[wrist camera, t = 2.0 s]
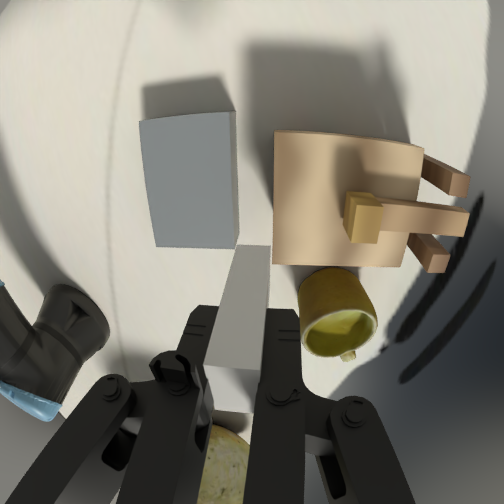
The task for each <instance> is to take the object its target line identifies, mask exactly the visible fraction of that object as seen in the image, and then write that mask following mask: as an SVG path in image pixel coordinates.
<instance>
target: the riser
mask: <svg viewBox="0 0 504 504" xmlns="http://www.w3.org/2000/svg"><path fill="white" fill-rule="evenodd" d="M139 130H140V141H141V151H142V160H143V168H144V176H145V183H146V190H147V197H148V203H149V210H150V216H151V221H152V227H153V232H154V238H155V243H156V247H176V248H210V249H235V247H236V243H237V239H238V236H239V205H238V176H237V142H236V111H227V112H210V113H197V114H186V115H177V116H168V117H161V118H154V119H148V120H143V121H139Z"/></svg>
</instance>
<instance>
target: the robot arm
mask: <svg viewBox="0 0 504 504" xmlns="http://www.w3.org/2000/svg"><path fill="white" fill-rule="evenodd" d="M270 249H271V246H259V245H237V247H236V250H235V254H234V257H233V261H232V264H231V267H230V271H229V274H228V278H227V281H226V285H225V288H224V292H223V295H222V299H221V302H220V306H208V305H198V306H197V307H196V308H195V309H194V310H193V311H192V312H191V313H190V316H189V318H188V321H187V324H186V326H185V329H184V331H183V335H182V337H181V339H180V342H179V345H178V347H177V350H175V351H166V352H163V353H160V354H159V355H157V356H156V357H154V358H153V359H152V361H151V362H150V364H149V367H150V369H151V371H152V373H153V375H154V377H155V380H152V381H146V382H133V383H129V382H128V380H127V379H126V378H124V377H123V376H121V375H118V374H108V375H106V376H103V377H101V378H100V379H99V380H98V381H97V382H96V383H95V384H94V385H93V386H92V388H91V389H90V390H89V391H88V393H87V394H86V395H85V396H84V398H83V399H82V400H81V401H80V403H79V404H78V405H77V406H76V408H75V409H74V410H73V411H72V413H71V414H70V415H69V416H68V418H67V419H66V420H65V422H64V423H63V424H62V426H61V427H60V428H59V429H58V431H57V432H56V433H55V435H54V436H53V437H52V438H51V440H50V441H49V442H48V444H47V445H46V446H45V448H44V449H43V450H42V452H41V453H40V455H39V456H38V457H37V459H36V460H35V462H34V463H33V464H32V466H31V467H30V468H29V470H28V471H27V472H26V474H25V476H24V477H23V478H22V479H21V481H20V482H19V484H18V485H17V487H16V488H15V490H14V491H13V492H12V494H11V495H10V497H9V498H8V500H7V501H6V503H5V504H110V502H111V501H112V499H113V498H114V496H115V495H116V493H117V492H118V490H119V489H120V491H119V495H118V498H117V502H116V504H197V500H198V495H199V490H200V484H201V479H202V474H203V469H204V464H205V459H206V454H207V449H208V444H209V439H210V434H211V429H212V417H211V413H212V409H213V404H214V408H215V410H222V411H231V412H242V413H254V416H253V424H252V433H251V441H250V449H249V457H248V465H247V473H246V481H245V488H244V496H243V503H242V504H304V480H305V478H304V477H305V476H304V475H305V452H307V453H310V454H314V455H315V457H316V461H317V464H318V467H319V471H320V474H321V478H322V481H323V485H324V488H325V491H326V495H327V498H328V502H329V504H415V501H414V498H413V496H412V493H411V491H410V488H409V485H408V483H407V481H406V478H405V475H404V473H403V471H402V468H401V466H400V463H399V461H398V458H397V456H396V454H395V451H394V449H393V447H392V444H391V442H390V440H389V437H388V435H387V433H386V431H385V429H384V426H383V424H382V422H381V419H380V417H379V416H378V413H377V411H376V409H375V408H374V406H373V405H372V403H371V402H370V401H368V400H366V399H365V398H363V397H358V396H348V397H345V398H343V399H340V400H339V401H334V400H330V399H327V398H323V397H320V396H318V395H315V394H314V393H312V392H311V391H309V389H308V388H307V387H306V386H305V384H304V382H303V379H302V362H301V336H300V319H299V317H298V316H297V314H296V312H295V311H294V309H273V308H268V306H269V289H270ZM4 285H5V284H4V282H2V281H1V280H0V393H1V394H2V395H3V396H5V397H6V398H7V399H8V400H10V401H11V402H13V403H14V404H15V405H17V406H18V407H20V408H21V409H23V410H24V411H26V412H28V413H29V414H31V415H33V416H34V417H36V418H38V419H40V420H43V421H51V420H53V418H54V417H55V415H56V414H57V412H58V411H59V409H60V408H61V407H62V403H63V401H64V399H65V397H66V395H67V393H68V391H69V389H70V387H71V385H72V384H73V382H74V380H75V378H76V376H77V374H78V372H79V370H80V369H81V367H82V365H83V363H84V362H85V361H87V360H88V359H89V358H90V357H91V356H93V355H94V354H95V353H96V351H99V350H100V349H102V348H103V347H104V345H105V344H106V342H107V340H108V338H109V336H110V329H109V325H108V323H107V321H106V319H105V317H104V315H103V314H102V312H101V311H100V310H99V308H98V307H97V306H96V305H95V304H94V303H93V302H92V301H91V300H90V299H89V298H88V297H87V296H85V295H84V294H83V293H81V292H80V291H78V290H76V289H75V288H72V287H70V286H67V285H62V284H59V285H55V286H53V287H52V288H51V289H50V291H49V292H48V293H47V294H46V296H45V298H44V301H43V304H42V307H41V309H40V312H39V314H38V317H37V320H36V322H35V323H34V324H33V326H31V324H30V323H29V322H28V320H27V319H26V318H25V316H24V315H23V314H22V312H21V311H20V309H19V308H18V306H17V305H16V303H15V302H14V300H13V299H12V297H11V296H10V294H9V293H8V291H7V289H6V288H5V286H4ZM120 487H121V488H120Z"/></svg>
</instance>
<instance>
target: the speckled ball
mask: <svg viewBox="0 0 504 504" xmlns="http://www.w3.org/2000/svg"><path fill="white" fill-rule="evenodd" d="M249 449H250V445H249V444H248V443H247V442H246V441H245V440H244V439H242V438H241V437H240V436H238V435H237V434H235V433H234V432H232V431H230V430H228V429H226V428H223V427H220V426H217V425H213V424H212V429H211V434H210V439H209V444H208V449H207V454H206V459H205V464H204V469H203V474H202V479H201V484H200V490H199V495H198V500H197V504H242V503H243V496H244V488H245V481H246V473H247V465H248V457H249Z"/></svg>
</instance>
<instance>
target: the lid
mask: <svg viewBox="0 0 504 504" xmlns="http://www.w3.org/2000/svg"><path fill="white" fill-rule="evenodd" d="M423 156H424V148H422V147H419V146H416V145H414V144H409V143H403V142H397V141H391V140H385V139H379V138H371V137H364V136H356V135H347V134H337V133H325V132H311V131H291V130H274V202H273V249H272V264H284V265H319V266H360V267H400V266H401V263H402V259H403V256H404V252H405V249H406V245H407V241H408V237H409V233H408V232H393V231H379V236H378V241H377V244H368V243H351V242H350V240H349V238H348V235H347V233H346V231H345V229H344V227H343V225H342V224H343V217H344V209H345V200H346V191H353V192H365V193H371V194H372V195H373V196H374V197H380V198H390V199H400V200H409V201H416V200H417V195H418V190H419V184H420V178H421V171H422V164H423Z"/></svg>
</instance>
